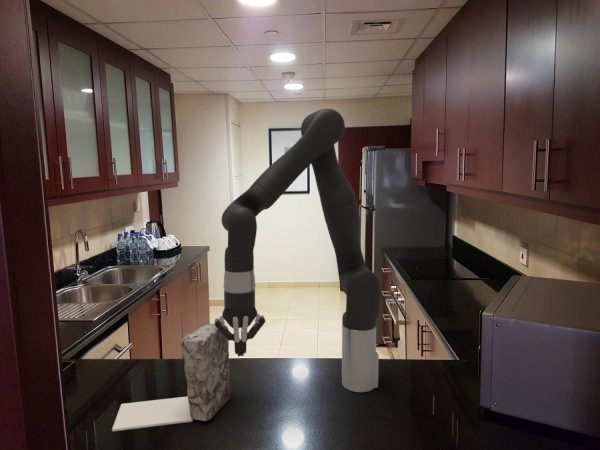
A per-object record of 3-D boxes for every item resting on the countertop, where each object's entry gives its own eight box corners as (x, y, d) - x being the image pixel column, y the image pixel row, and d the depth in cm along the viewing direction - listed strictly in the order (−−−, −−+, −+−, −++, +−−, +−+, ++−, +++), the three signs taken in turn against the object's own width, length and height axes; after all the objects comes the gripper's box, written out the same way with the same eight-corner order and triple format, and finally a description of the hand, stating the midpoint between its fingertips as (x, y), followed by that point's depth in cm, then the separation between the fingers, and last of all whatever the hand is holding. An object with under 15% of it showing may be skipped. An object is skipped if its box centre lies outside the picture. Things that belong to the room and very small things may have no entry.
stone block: (213, 422, 100) (207, 338, 98) (186, 421, 101) (179, 338, 100) (234, 396, 113) (228, 321, 111) (210, 395, 114) (204, 321, 113)
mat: (194, 397, 113) (194, 395, 113) (192, 421, 102) (192, 419, 102) (121, 405, 109) (121, 403, 109) (112, 431, 98) (112, 429, 98)
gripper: (264, 282, 110) (264, 346, 112) (211, 284, 107) (213, 350, 109) (268, 290, 102) (268, 359, 105) (212, 293, 100) (213, 363, 102)
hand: (240, 354), depth 107 cm, fingers closed
